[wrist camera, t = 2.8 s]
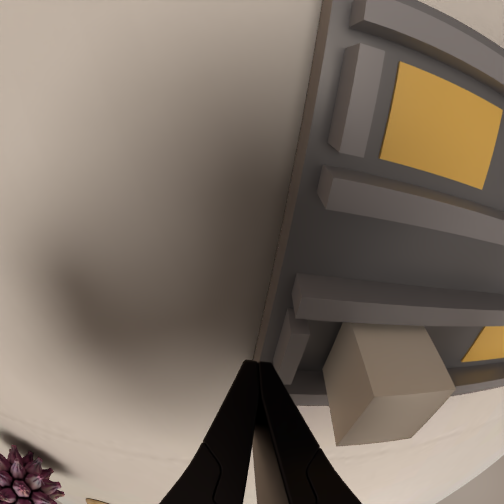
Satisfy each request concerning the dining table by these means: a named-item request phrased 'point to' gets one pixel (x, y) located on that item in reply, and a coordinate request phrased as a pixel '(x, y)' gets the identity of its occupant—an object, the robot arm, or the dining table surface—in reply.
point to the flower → (26, 480)
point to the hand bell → (94, 501)
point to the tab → (383, 382)
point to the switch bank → (393, 196)
